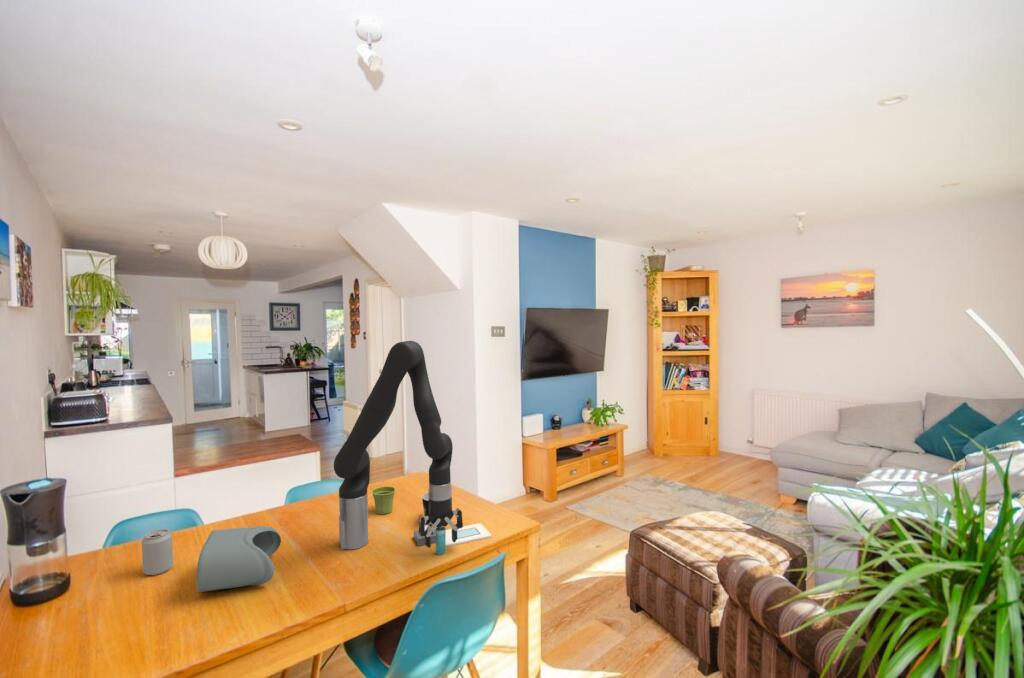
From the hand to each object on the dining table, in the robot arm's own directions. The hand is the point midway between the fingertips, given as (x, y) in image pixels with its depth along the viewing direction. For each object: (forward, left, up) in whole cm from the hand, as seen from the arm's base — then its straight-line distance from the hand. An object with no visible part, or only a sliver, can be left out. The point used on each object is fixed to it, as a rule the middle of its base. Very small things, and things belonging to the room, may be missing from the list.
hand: (441, 543), depth 157 cm
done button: (-2, +11, -1) cm, 11 cm away
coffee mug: (+5, +25, -3) cm, 26 cm away
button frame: (-2, +11, -3) cm, 12 cm away
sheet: (+11, +9, -3) cm, 14 cm away
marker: (0, 0, -3) cm, 3 cm away
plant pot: (-11, +42, -3) cm, 44 cm away
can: (-82, +27, -3) cm, 87 cm away
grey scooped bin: (-58, +12, -3) cm, 60 cm away
